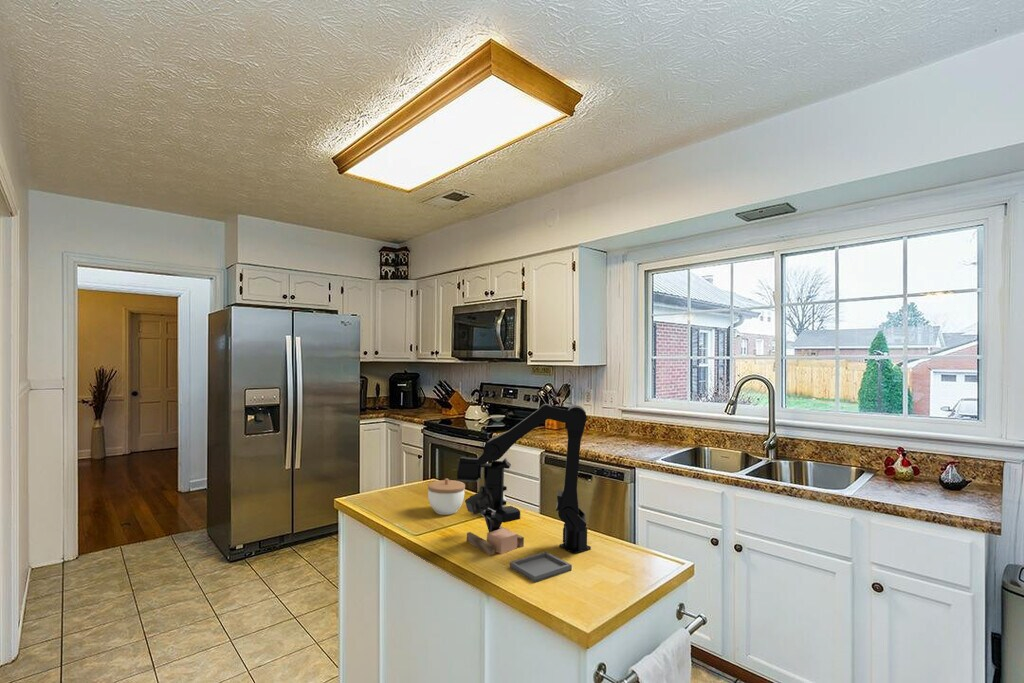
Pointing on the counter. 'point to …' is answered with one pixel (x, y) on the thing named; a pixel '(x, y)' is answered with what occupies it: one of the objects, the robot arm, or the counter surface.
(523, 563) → the tray
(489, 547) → the corridor rails
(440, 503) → the lidded bowl
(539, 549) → the counter surface
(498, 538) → the block
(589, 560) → the counter surface
